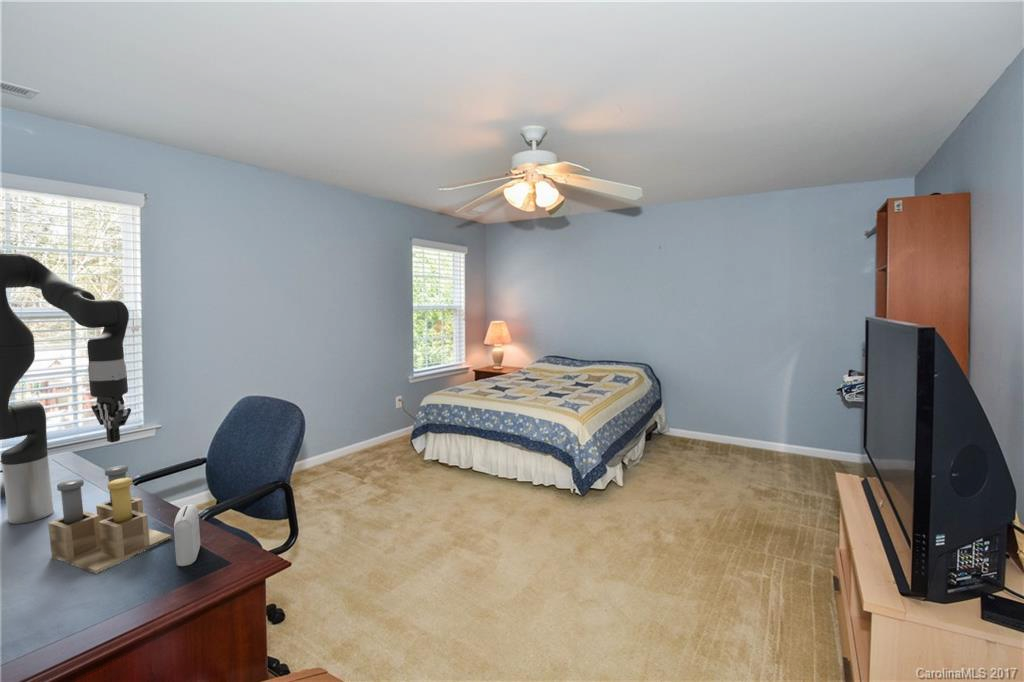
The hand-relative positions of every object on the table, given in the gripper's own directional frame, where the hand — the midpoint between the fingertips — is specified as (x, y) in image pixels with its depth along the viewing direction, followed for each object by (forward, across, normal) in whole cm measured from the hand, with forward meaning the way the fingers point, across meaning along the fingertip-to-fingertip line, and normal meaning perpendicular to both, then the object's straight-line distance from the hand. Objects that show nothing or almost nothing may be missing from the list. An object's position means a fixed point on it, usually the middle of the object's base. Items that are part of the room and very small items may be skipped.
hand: (113, 441), depth 126 cm
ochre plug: (+17, +11, -5) cm, 21 cm away
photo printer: (+26, +26, 0) cm, 37 cm away
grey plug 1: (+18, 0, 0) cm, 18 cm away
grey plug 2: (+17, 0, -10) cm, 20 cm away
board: (+26, +6, -5) cm, 27 cm away
